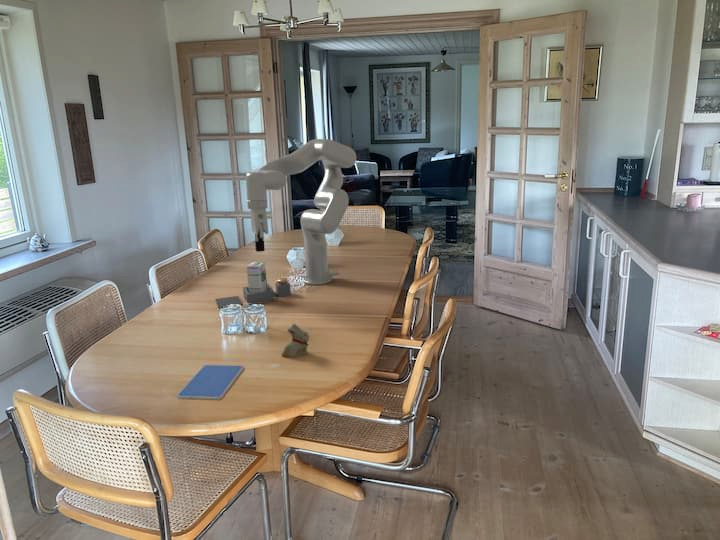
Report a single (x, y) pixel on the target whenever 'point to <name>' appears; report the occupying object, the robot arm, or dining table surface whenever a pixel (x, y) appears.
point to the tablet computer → (211, 382)
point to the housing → (267, 293)
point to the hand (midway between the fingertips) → (260, 250)
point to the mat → (228, 301)
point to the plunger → (282, 280)
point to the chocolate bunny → (296, 343)
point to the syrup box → (256, 277)
